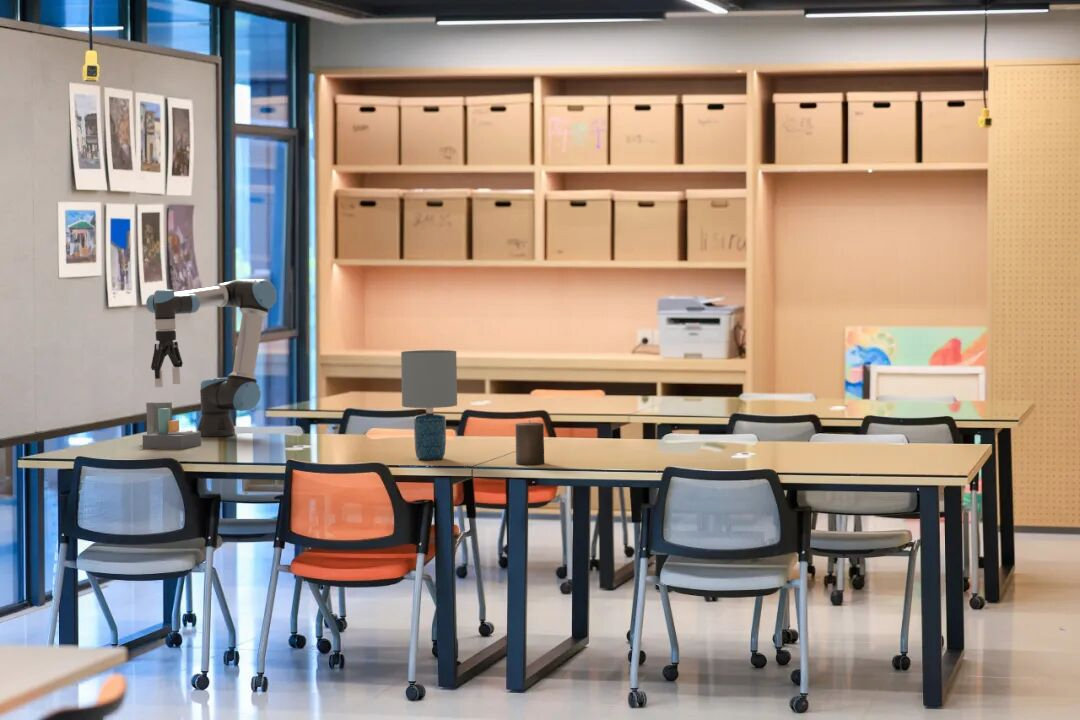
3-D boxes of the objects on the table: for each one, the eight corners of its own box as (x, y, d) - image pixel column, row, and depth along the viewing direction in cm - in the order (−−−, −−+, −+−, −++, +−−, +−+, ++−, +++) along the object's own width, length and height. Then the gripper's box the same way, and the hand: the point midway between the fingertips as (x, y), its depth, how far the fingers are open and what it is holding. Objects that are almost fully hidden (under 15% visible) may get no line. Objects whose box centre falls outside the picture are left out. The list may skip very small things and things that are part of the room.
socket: (163, 443, 616) (163, 431, 616) (201, 444, 612) (200, 431, 611) (142, 448, 601) (142, 435, 600) (180, 449, 596) (180, 436, 596)
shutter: (176, 432, 609) (176, 419, 609) (192, 432, 607) (192, 419, 607) (167, 434, 602) (167, 421, 602) (183, 434, 600) (183, 421, 600)
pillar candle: (548, 464, 537) (548, 420, 536) (521, 465, 533) (520, 421, 533) (538, 461, 546) (537, 418, 545) (511, 463, 542) (511, 419, 542)
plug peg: (163, 444, 610) (161, 408, 609) (173, 444, 608) (172, 408, 608) (157, 445, 605) (155, 409, 605) (167, 445, 604) (166, 409, 603)
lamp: (413, 463, 543) (411, 353, 541) (395, 457, 561) (393, 351, 559) (465, 460, 551) (464, 351, 549) (446, 454, 568) (445, 349, 566)
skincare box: (154, 443, 618) (153, 403, 617) (145, 442, 623) (144, 402, 622) (174, 441, 623) (173, 401, 622) (165, 440, 628) (164, 400, 628)
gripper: (172, 328, 619) (174, 382, 620) (140, 332, 595) (142, 388, 597) (190, 328, 617) (192, 382, 618) (158, 332, 593) (160, 388, 595)
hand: (167, 385), depth 607 cm, fingers open, 13 cm apart
